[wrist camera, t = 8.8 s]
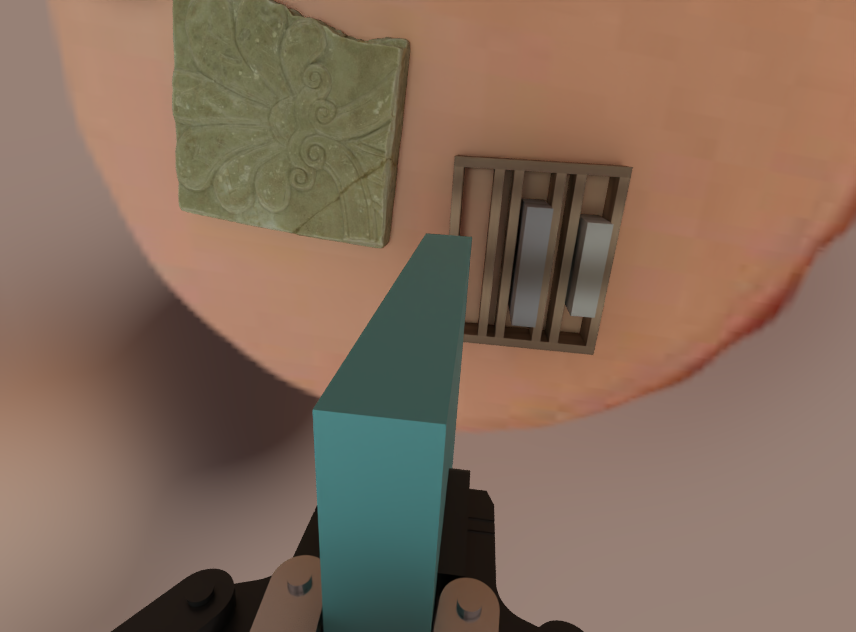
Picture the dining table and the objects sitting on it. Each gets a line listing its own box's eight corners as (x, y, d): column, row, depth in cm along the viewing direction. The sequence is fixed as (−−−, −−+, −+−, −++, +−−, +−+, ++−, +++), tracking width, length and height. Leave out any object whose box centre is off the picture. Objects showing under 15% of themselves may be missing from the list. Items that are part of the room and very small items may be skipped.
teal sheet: (426, 233, 20) (312, 410, 7) (471, 236, 20) (446, 424, 7) (415, 458, 24) (333, 827, 11) (452, 462, 24) (414, 843, 11)
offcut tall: (521, 198, 41) (527, 206, 35) (543, 199, 41) (553, 208, 35) (508, 302, 44) (511, 325, 39) (528, 304, 44) (535, 327, 39)
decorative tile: (389, 245, 44) (381, 254, 41) (193, 207, 45) (170, 212, 42) (420, 26, 37) (414, 14, 34) (188, -15, 38) (160, -30, 35)
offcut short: (576, 213, 41) (587, 222, 36) (598, 215, 41) (613, 224, 36) (561, 297, 44) (570, 315, 39) (582, 299, 43) (594, 317, 39)
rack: (457, 155, 40) (454, 156, 37) (622, 165, 39) (632, 167, 36) (444, 327, 46) (441, 339, 43) (586, 341, 45) (593, 354, 42)
